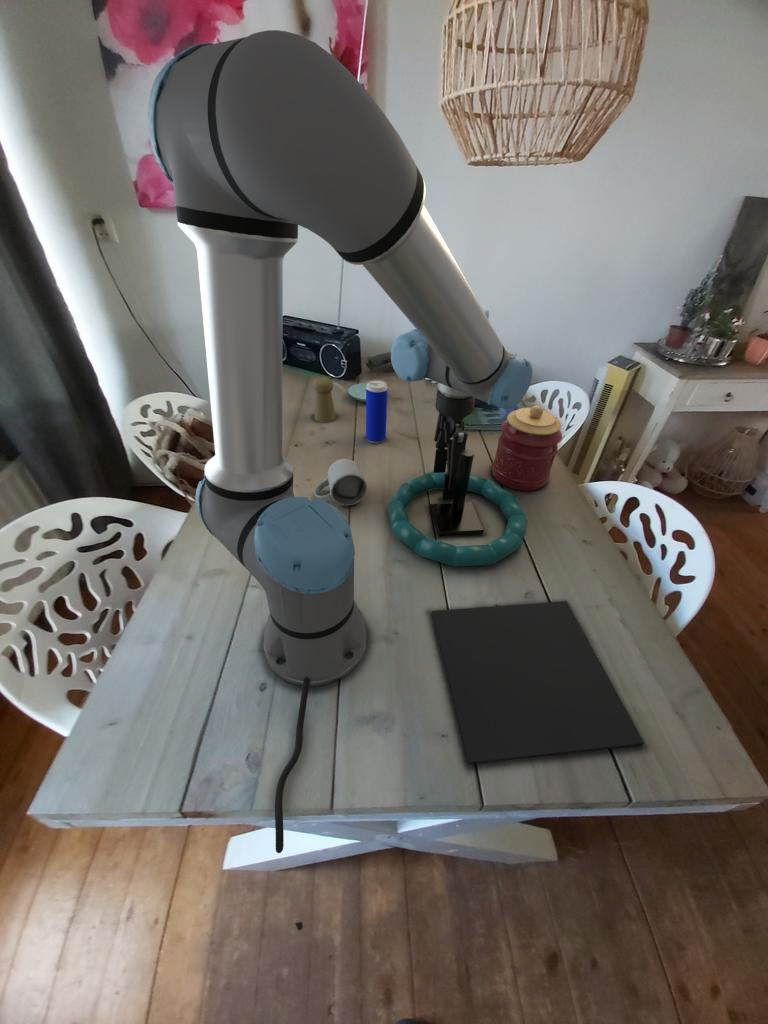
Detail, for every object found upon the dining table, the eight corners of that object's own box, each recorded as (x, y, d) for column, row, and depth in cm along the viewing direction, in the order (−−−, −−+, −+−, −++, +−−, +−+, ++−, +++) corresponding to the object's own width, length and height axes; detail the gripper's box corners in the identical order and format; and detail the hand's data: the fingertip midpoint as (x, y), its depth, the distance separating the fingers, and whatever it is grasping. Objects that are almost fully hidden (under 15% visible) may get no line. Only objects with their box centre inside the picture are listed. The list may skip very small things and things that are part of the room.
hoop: (545, 565, 81) (550, 550, 78) (398, 574, 78) (399, 559, 76) (498, 480, 102) (501, 467, 99) (382, 484, 99) (382, 471, 96)
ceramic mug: (359, 481, 99) (358, 452, 94) (367, 503, 93) (367, 473, 88) (312, 488, 97) (309, 458, 92) (317, 510, 91) (314, 480, 86)
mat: (642, 745, 56) (644, 743, 56) (468, 764, 54) (468, 762, 53) (565, 603, 74) (566, 601, 74) (431, 613, 71) (431, 610, 71)
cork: (312, 413, 124) (309, 375, 118) (333, 411, 126) (331, 373, 119) (316, 423, 120) (313, 384, 113) (337, 420, 122) (336, 382, 115)
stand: (483, 534, 87) (499, 465, 77) (438, 536, 86) (448, 467, 76) (470, 506, 94) (484, 439, 83) (429, 508, 93) (437, 440, 82)
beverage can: (387, 435, 116) (390, 381, 106) (382, 445, 112) (384, 389, 102) (369, 432, 117) (369, 378, 107) (363, 442, 113) (363, 386, 103)
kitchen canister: (489, 458, 109) (503, 391, 98) (542, 463, 108) (563, 395, 97) (493, 489, 99) (510, 417, 88) (552, 494, 98) (576, 423, 87)
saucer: (372, 386, 140) (372, 379, 139) (394, 400, 133) (395, 393, 131) (340, 395, 134) (340, 388, 133) (362, 409, 127) (362, 402, 126)
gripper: (492, 416, 77) (472, 515, 91) (461, 369, 93) (448, 459, 107) (450, 417, 76) (437, 517, 90) (426, 369, 92) (418, 460, 107)
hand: (443, 486), depth 99 cm, fingers open, 9 cm apart
